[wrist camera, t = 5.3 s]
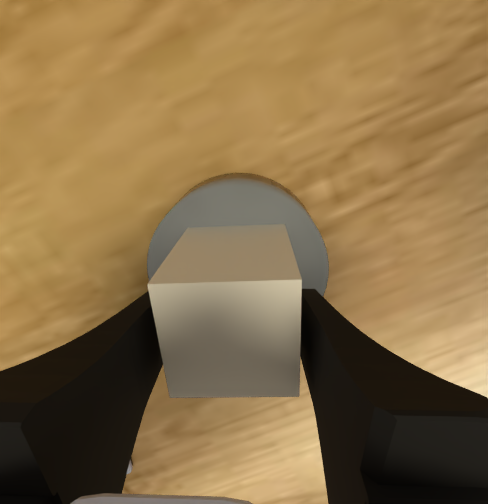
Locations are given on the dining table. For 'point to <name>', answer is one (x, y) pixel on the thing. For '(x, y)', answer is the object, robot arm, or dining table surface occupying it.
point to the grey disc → (245, 220)
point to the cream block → (229, 313)
